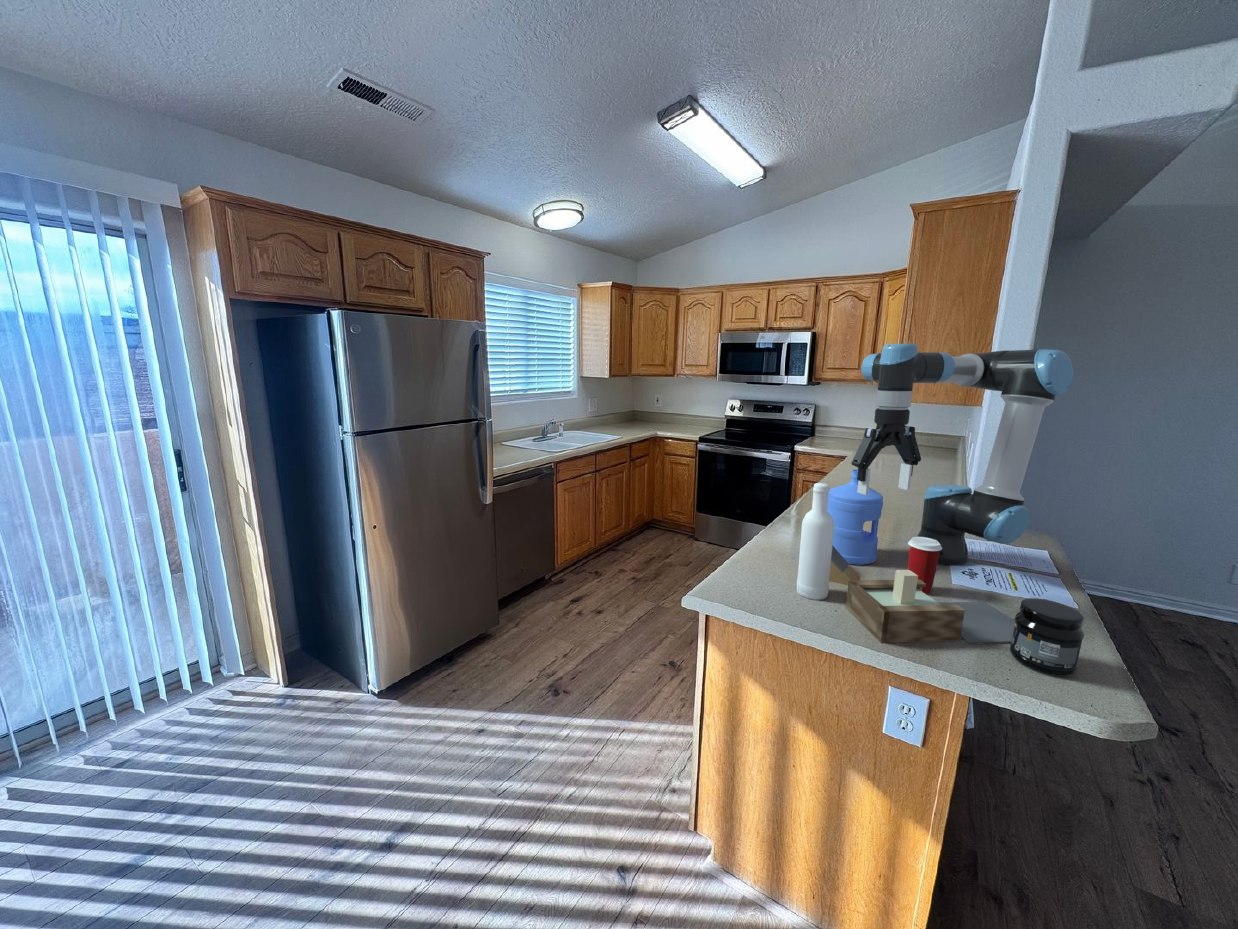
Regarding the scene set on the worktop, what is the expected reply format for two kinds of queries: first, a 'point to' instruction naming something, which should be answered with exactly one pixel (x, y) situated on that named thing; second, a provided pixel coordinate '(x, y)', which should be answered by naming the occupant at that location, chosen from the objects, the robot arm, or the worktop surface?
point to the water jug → (855, 521)
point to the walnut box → (903, 616)
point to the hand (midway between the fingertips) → (883, 491)
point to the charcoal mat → (984, 623)
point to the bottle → (816, 547)
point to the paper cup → (924, 560)
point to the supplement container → (1047, 636)
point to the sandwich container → (841, 569)
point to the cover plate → (890, 601)
